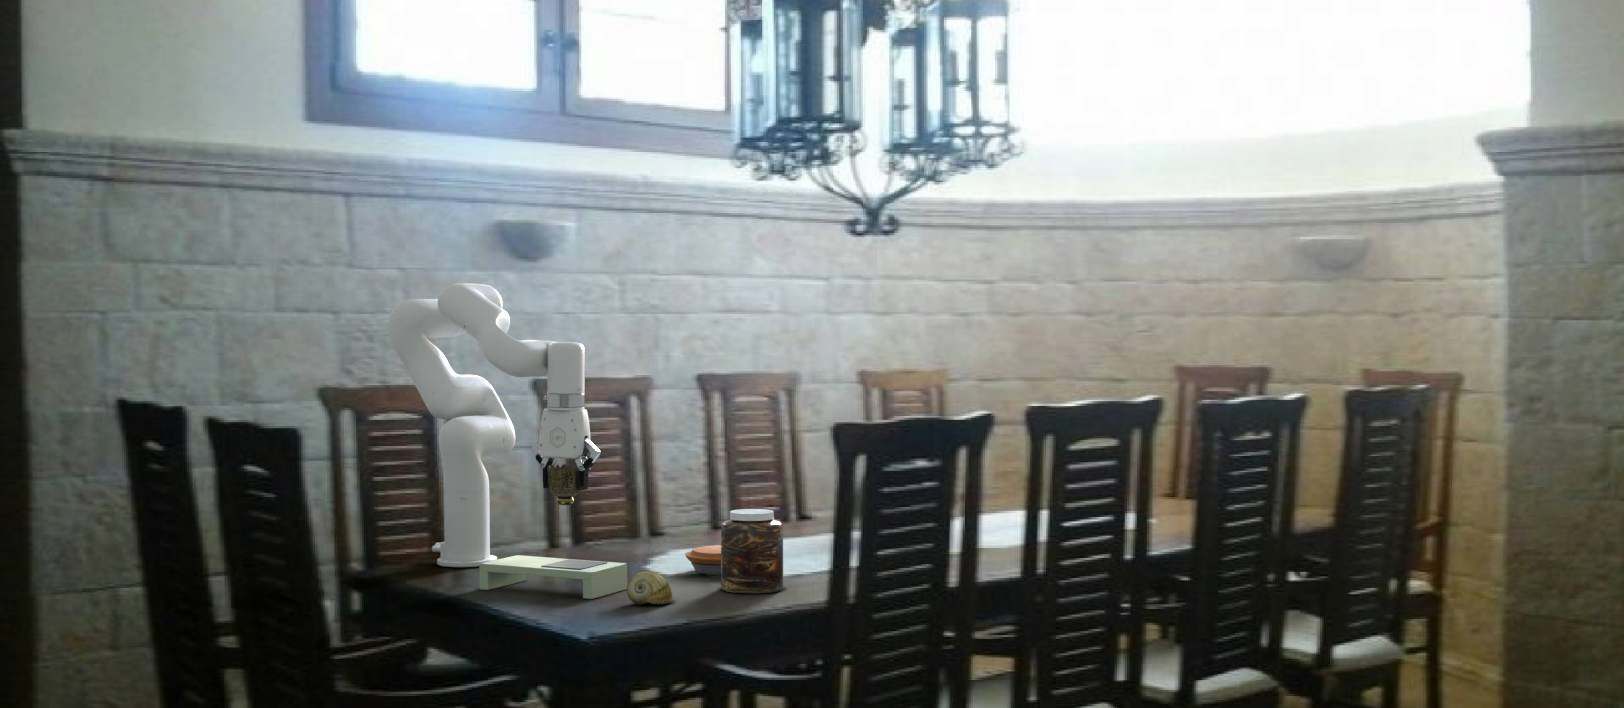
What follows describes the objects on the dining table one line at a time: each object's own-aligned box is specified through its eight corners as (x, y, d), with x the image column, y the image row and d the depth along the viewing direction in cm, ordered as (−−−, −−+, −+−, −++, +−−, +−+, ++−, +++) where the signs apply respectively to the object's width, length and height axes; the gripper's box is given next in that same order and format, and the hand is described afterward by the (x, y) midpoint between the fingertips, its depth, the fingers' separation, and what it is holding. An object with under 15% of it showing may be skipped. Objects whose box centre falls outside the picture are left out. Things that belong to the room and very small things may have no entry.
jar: (771, 582, 300) (771, 506, 300) (791, 591, 289) (790, 513, 289) (714, 586, 296) (713, 509, 295) (731, 595, 285) (731, 516, 284)
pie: (774, 572, 312) (774, 548, 312) (707, 579, 304) (707, 554, 304) (737, 563, 325) (737, 539, 325) (672, 569, 317) (672, 545, 317)
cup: (590, 503, 312) (590, 464, 312) (570, 507, 306) (570, 468, 305) (560, 501, 315) (560, 462, 315) (539, 505, 309) (539, 465, 308)
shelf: (479, 589, 293) (479, 562, 293) (517, 580, 304) (517, 554, 304) (591, 599, 282) (591, 571, 282) (627, 589, 293) (626, 562, 293)
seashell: (652, 621, 281) (626, 587, 283) (682, 597, 282) (656, 563, 283) (643, 621, 272) (616, 586, 273) (674, 596, 272) (647, 561, 274)
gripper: (519, 401, 310) (519, 488, 311) (591, 404, 303) (590, 493, 303) (541, 400, 317) (541, 484, 317) (612, 403, 310) (611, 489, 310)
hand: (565, 488), depth 310 cm, fingers closed on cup, 7 cm apart
